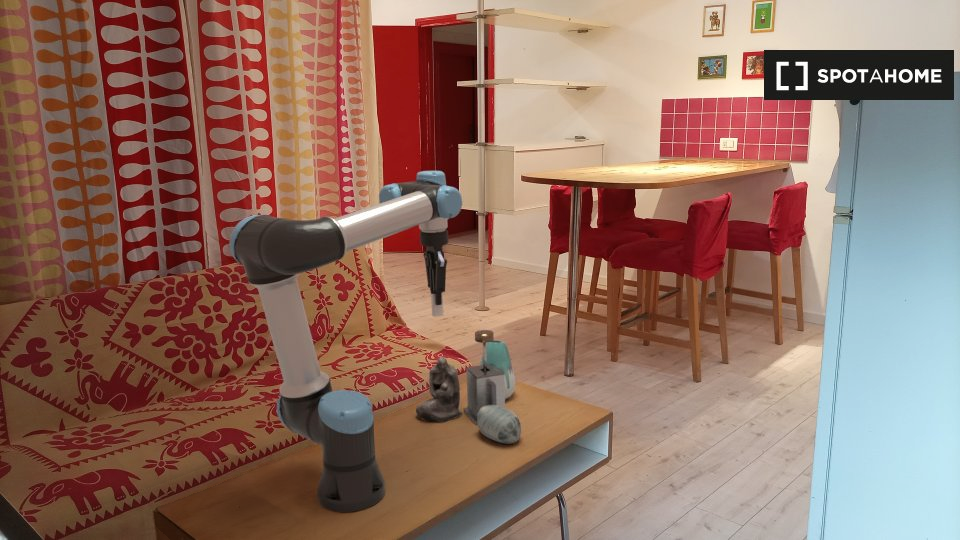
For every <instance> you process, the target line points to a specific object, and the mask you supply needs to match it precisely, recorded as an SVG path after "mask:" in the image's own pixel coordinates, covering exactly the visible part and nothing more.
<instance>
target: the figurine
mask: <svg viewBox="0 0 960 540" xmlns="http://www.w3.org/2000/svg"><path fill="white" fill-rule="evenodd" d="M428 374H429V376H428V377H429V379H428V380H429V381H428V382H429V394H430V396H431V398H427V399H426V400H423V401H422V402H420V403H419V404H418V405H417V406H416V408H415V413H416V416H417V418H418V419H420V420H423V421H425V422H429V423H431V422H432V423H433V422H434V423H444V422H447V421H449V420H453V419H456V418H459V417H460V416H461V415H463V411H462V410H461V409H459V408H460V402H461V396H460V395H461V394H460V393H461V389H460V387H461V386H460V380H459V376H458V375H459V373H458V369H456V367H455V366H453V365H451V364H449V363H448V361H447V358H446V357H444V356H440V357H438V359H437V361H435V364H434V365H433V366H432V367H431V368H430V370H429V373H428Z"/></svg>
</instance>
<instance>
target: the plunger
mask: <svg viewBox="0 0 960 540" xmlns="http://www.w3.org/2000/svg"><path fill="white" fill-rule="evenodd" d="M493 340H495V339H494V331H493V330H489V329H480V330H477V331H475V332H474V341H475V342H476V343H481V344H482V354H483V371H482V372H486V371H487V354H486V343H487V342H491V341H493Z"/></svg>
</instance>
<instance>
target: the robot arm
mask: <svg viewBox="0 0 960 540" xmlns="http://www.w3.org/2000/svg"><path fill="white" fill-rule="evenodd" d="M378 199H379V200H378V202H379V203H377V204H375V205H371V206H368V207H365V208H363V209H359V210H356V211H353V212H350V213H348V214H344V215H341V216H338V217H335V218H332V217H331V216H322V217H319V218H316V219H305V220H302V219H292V218H291V219H290V218H282V217H276V216H271V215H269V214H268V215H267V214H260V215H259V214H254V215H249V216H247V217H245V218H243V219H241V220H240V221H239V222H238V223H237V224H236V225H235V227H234V228H233V230H232V232H231V234H230V237H229V238H230V239H229V251H230V254H231V256H232V258H234V261H236V262H237V263H238V264H239V265H241V266H243V268H244V273H245V274H246V279H247V282H248V284H249V285H250V286H252V287H254V288H256V289H257V291H258V293H259V294H258V295H259V298H260V301H261V304H262V308H263V312H264V314H265V315H264V316H265V319H266V322H267V326H268V330H269V334H270V336H271V341H272V344H273V348H274V351H275V355H276V358H277V362H278V366H279V369H280V373H281V375H282V380H283V382H282V383H281V384H280V386H279V398H278V400H277V403H276V414H277V416H278V419H279V421H280V422H281V424H283V426H285V427H286V428H287V429H288V430H289V431H291V432H292V433H294V434H297V435H300V436H302V437H303V438H305V439H308V440H309V441H312V443H313V442H314V443H315V444H318V445H320V446H321V453H322V462H323V463H322V464H323V468H322V470H321V475H320V479H319V482H318V486H317V501H318V503H319V504H320V506H321V507H323V508H325V509H327V510H329V511H331V512H340V513H350V512H358V511H362V510H366V509H368V508H371V507H372V506H375V505H376V504H378V503H379V502H380V501H381V500H382V499H384V496H385V494H386V482H385V479H384V476H383V475H382V472H381V470H380V468H379V464H378V462H377V461H376V460H377V459H376V446H375V426H374V419H375V417H374V416H375V415H374V412H373V407H372V406H373V405H372V402H371V400H370V399H369V398H368V397H367V395H365V394H363V393H362V392H359V391H356V390H347V389H339V390H333V387H332V384H331V379H330V375H328V373H326V372H325V371H322V370H321V367H320V365H319V364H320V362H319V360H318V356H317V352H316V347H315V345H314V340H313V336H312V333H311V329H310V325H309V322H308V317H307V314H306V309H305V307H304V302H303V298H302V294H301V291H300V287H299V282H298V277H299V275H300V274H303V273H306V272H310V271H313V270H316V269H319V268H321V267H324V266H327V265H330V264H332V263H334V262H337V261H340V260H342V259H344V258H345V255H346V253H348V252H350V251H352V250H356V249H358V248H361V247H363V246H365V245H368V244H372V243H374V242H377V241H380V240H382V239H385V238H387V237H390V236H393V235H395V234H398V233H400V232H403V231H406V230H409V229H411V228H413V227H417V226H418V229H419V230H420V232H419V244H420V245H421V246H423V247H426V250H425V252H423V257H424V263H425V264H424V265H425V270H426V271H425V272H426V280H427V287H428V289H429V291H430V296H431V297H430V298H431V299H430V300H431V316H432V317H434V318H435V317H443V316H444V304H443V303H444V302H443V293H445V292H446V278H447V277H446V275H447V265H448V259H447V258H445V252H444V251H443V246H446V245H448V243H449V231H448V229H447V228H448V220H449V219H452V218H455V217H457V216H458V215H459V213H460V212H461V211H462V207H463V197H462V194H461V192H460V191H459V189H457V188H456V187H454V186H449V185H447V180H446V174H445V172H443V171H442V170H423V171H418V172H417V173H416V179H415V180H414V181H407V182H406V181H405V182H396V183H394V182H392V183H391V184H386V185H384V186H383V187H381V189H380V190H379V194H378Z"/></svg>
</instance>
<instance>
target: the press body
mask: <svg viewBox="0 0 960 540" xmlns="http://www.w3.org/2000/svg"><path fill="white" fill-rule="evenodd" d="M482 371H483V365H480V364H479V365H474V366H466V394H467V396H466V397H467V400H466V401H467V407H463V412H464V413H465V415H467V417H468V418H469V419H470V420H471V421H472V422H473V423H474V424H475V425H476V426H478V423H477V416H478V412H479V410H480V409H481V408H482V407H484V406H487V405H497V406H502V407H504V408H506V399H505V383H504V372H503V371H502V370H501V369H499V368H498V367H497V366H496V365H495V364H494V363H492V364H487V371H486V372H482Z"/></svg>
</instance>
